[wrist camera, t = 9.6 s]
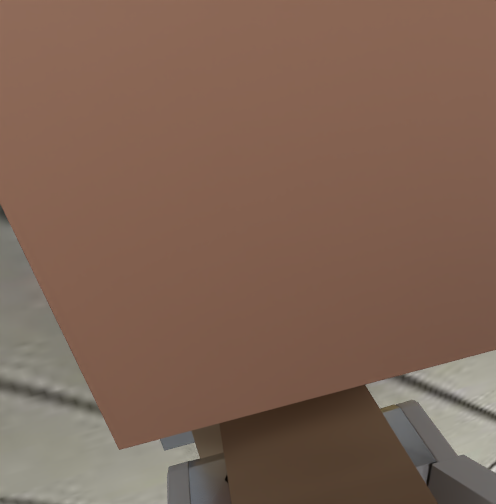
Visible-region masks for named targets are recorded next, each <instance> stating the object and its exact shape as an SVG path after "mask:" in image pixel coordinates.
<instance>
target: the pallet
mask: <svg viewBox="0 0 496 504" xmlns="http://www.w3.org/2000/svg"><path fill="white" fill-rule="evenodd" d="M192 434H193V437H194V441H195V444H196V447H197V450H198V453H199V456H200V459H201V458H204V457H208V456H212V455H216V454H219V453H223V452H224V457H225V464H226V470H227V477H228V483H229V490H230V496H231V502H232V504H438V503H437V501H436V499H435V498H434V496H433V494H432V493H431V491H430V490H429V488H428V486H427V485H426V483H425V481H424V480H423V478H422V477H421V475H420V473H419V472H418V470H417V468H416V467H415V465H414V464H413V462H412V460H411V459H410V457H409V456H408V454H407V452H406V451H405V449H404V447H403V446H402V444H401V443H400V441H399V439H398V438H397V436H396V434H395V433H394V431H393V430H392V428H391V426H390V425H389V423H388V421H387V420H386V418H385V417H384V415H383V413H382V412H381V410H380V408H379V407H378V405H377V404H376V402H375V400H374V399H373V397H372V395H371V394H370V392H369V391H368V389H367V387H366V386H365V385H361V386H357V387H354V388H350V389H346V390H342V391H339V392H335V393H331V394H327V395H323V396H320V397H316V398H312V399H308V400H305V401H301V402H297V403H293V404H290V405H286V406H282V407H278V408H275V409H271V410H267V411H263V412H260V413H256V414H252V415H248V416H245V417H241V418H237V419H233V420H230V421H226V422H222V423H218V424H214V425H211V426H207V427H203V428H199V429H196V430H192Z"/></svg>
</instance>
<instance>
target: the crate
mask: <svg viewBox="0 0 496 504" xmlns="http://www.w3.org/2000/svg"><path fill="white" fill-rule="evenodd" d="M0 204H1V206H2V208H3V210H4V212H5V215H6V217H7V219H8V221H9V223H10V225H11V227H12V229H13V231H14V233H15V235H16V237H17V239H18V241H19V243H20V246H21V248H22V250H23V252H24V254H25V256H26V258H27V260H28V262H29V264H30V266H31V268H32V270H33V272H34V275H35V277H36V279H37V281H38V283H39V285H40V287H41V289H42V291H43V293H44V295H45V297H46V299H47V301H48V304H49V306H50V308H51V310H52V312H53V314H54V316H55V318H56V320H57V322H58V324H59V326H60V328H61V330H62V332H63V335H64V337H65V339H66V341H67V343H68V345H69V347H70V349H71V351H72V353H73V355H74V357H75V359H76V361H77V364H78V366H79V368H80V370H81V372H82V374H83V376H84V378H85V380H86V382H87V384H88V386H89V388H90V390H91V392H92V395H93V397H94V399H95V401H96V403H97V405H98V407H99V409H100V411H101V413H102V415H103V417H104V419H105V421H106V424H107V426H108V428H109V430H110V432H111V434H112V436H113V438H114V440H115V442H116V444H117V446H118V448H119V450H120V449H124V448H128V447H132V446H136V445H139V444H143V443H147V442H151V441H154V440H158V439H162V438H166V437H169V436H173V435H177V434H181V433H184V432H188V431H192V430H196V429H199V428H203V427H207V426H211V425H214V424H218V423H222V422H226V421H230V420H233V419H237V418H241V417H245V416H248V415H252V414H256V413H260V412H263V411H267V410H271V409H275V408H278V407H282V406H286V405H290V404H293V403H297V402H301V401H305V400H308V399H312V398H316V397H320V396H323V395H327V394H331V393H335V392H339V391H342V390H346V389H350V388H354V387H357V386H361V385H365V384H369V383H372V382H376V381H380V380H384V379H387V378H391V377H395V376H399V375H402V374H406V373H410V372H414V371H417V370H421V369H425V368H429V367H433V366H436V365H440V364H444V363H448V362H451V361H455V360H459V359H463V358H466V357H470V356H474V355H478V354H481V353H485V352H489V351H493V350H496V0H0Z"/></svg>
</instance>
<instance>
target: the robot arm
mask: <svg viewBox="0 0 496 504" xmlns="http://www.w3.org/2000/svg"><path fill="white" fill-rule="evenodd" d="M380 410H381V412H382V413H383V415H384V417H385V418H386V420H387V421H388V423H389V425H390V426H391V428H392V430H393V431H394V433H395V434H396V436H397V438H398V439H399V441H400V443H401V444H402V446H403V447H404V449H405V451H406V452H407V454H408V456H409V457H410V459H411V460H412V462H413V464H414V465H415V467H416V468H417V470H418V472H419V473H420V475H421V477H422V478H423V480H424V481H425V483H426V485H427V486H428V488H429V490H430V491H431V493H432V494H433V496H434V498H435V499H436V501H437V503H438V504H496V473H494V472H493V471H491V470H489V469H487V468H486V467H484V466H482V465H481V464H479V463H477V462H475V461H474V460H472V459H470V458H469V457H467V456H465V455H460V456H458V455H457V454H456V453H455V451H454V450H453V449H452V447H451V446H450V445H449V443H448V442H447V440H446V439H445V438H444V436H443V435H442V434H441V432H440V431H439V430H438V428H437V427H436V426H435V424H434V423H433V422H432V420H431V419H430V418H429V416H428V415H427V414H426V412H425V411H424V410H423V408H422V407H421V406H420V404H419V403H418V402H416V401H415V400H410V401H406V402H403V403H399V404H396V405H391V406H387V407H384V408H381V409H380ZM167 498H168V504H232V502H231V496H230V490H229V483H228V477H227V470H226V464H225V457H224V452H223V453H219V454H216V455H212V456H208V457H204V458H201V459H197V460H193V461H188V462H184V463H181V464H177V465H174V466H170V467H169V468H168V474H167Z"/></svg>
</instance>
